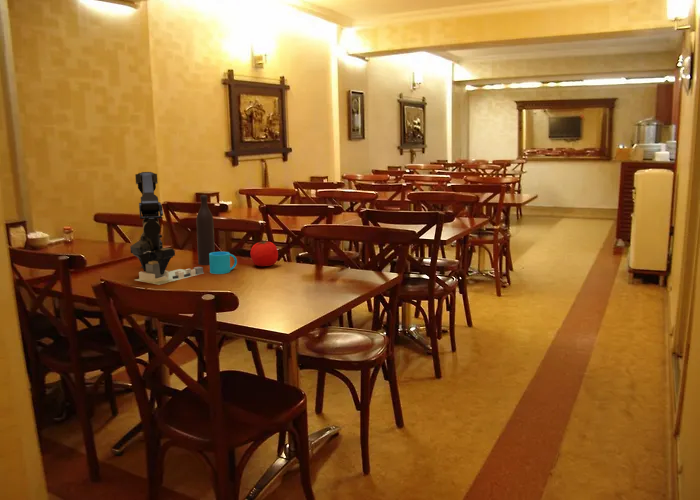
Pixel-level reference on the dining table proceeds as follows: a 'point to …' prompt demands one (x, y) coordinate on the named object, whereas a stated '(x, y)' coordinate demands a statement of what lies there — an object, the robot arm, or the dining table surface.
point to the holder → (153, 276)
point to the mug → (221, 262)
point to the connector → (153, 268)
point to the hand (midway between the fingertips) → (153, 273)
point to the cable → (184, 276)
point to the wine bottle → (204, 232)
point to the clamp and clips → (192, 272)
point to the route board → (171, 274)
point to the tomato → (264, 253)
